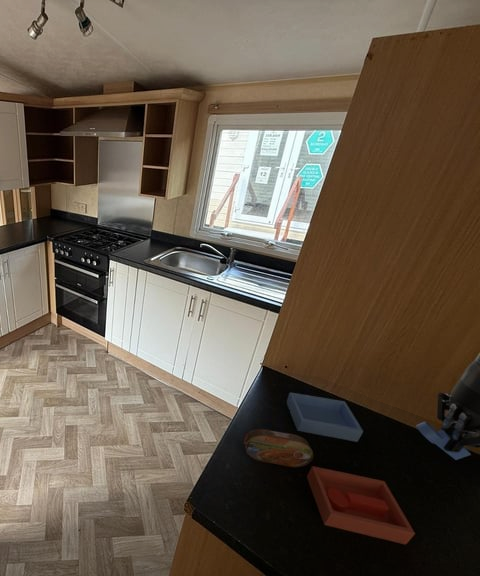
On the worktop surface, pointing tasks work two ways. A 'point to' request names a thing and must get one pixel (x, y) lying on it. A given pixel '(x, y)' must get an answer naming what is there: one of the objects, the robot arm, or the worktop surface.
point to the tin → (278, 448)
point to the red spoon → (356, 502)
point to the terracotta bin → (355, 521)
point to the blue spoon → (440, 439)
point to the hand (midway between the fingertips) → (445, 445)
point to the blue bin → (323, 417)
